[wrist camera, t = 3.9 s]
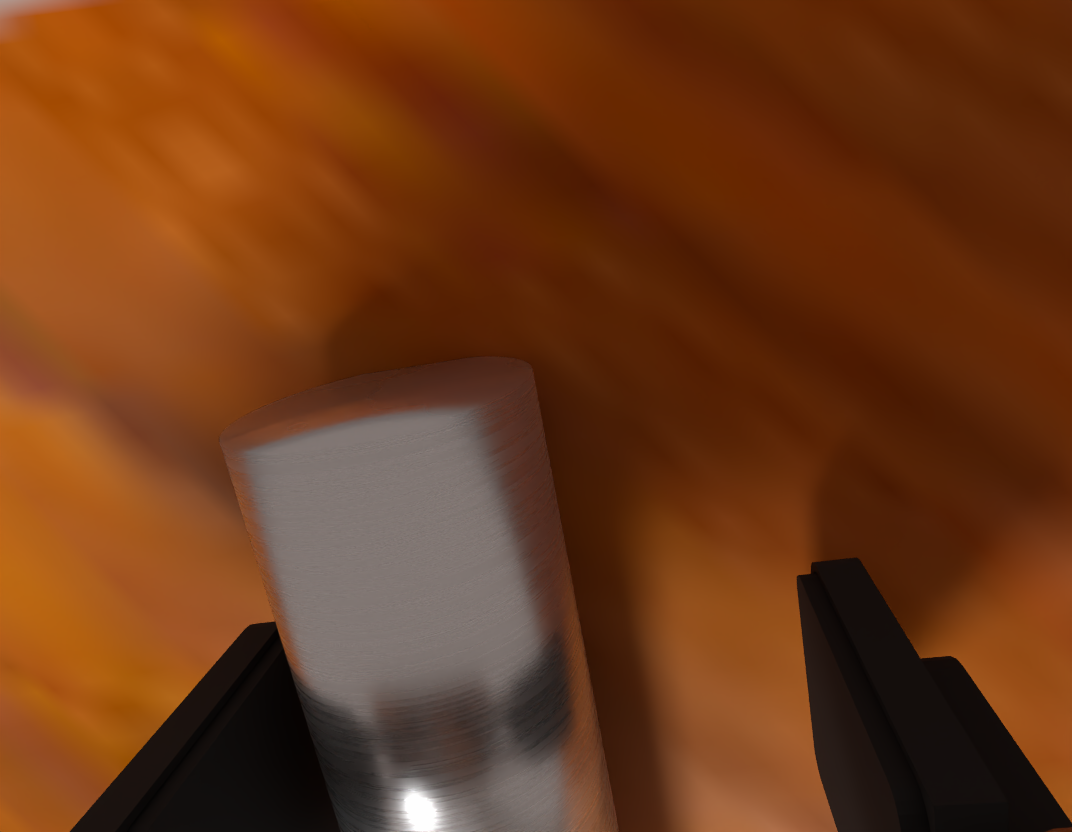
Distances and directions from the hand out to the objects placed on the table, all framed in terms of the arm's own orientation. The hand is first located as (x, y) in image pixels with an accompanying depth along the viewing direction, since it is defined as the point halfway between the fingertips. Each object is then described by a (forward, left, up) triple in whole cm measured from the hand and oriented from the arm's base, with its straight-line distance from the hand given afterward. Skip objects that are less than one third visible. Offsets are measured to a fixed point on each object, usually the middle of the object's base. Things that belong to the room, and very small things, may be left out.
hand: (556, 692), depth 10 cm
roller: (0, 0, 0) cm, 0 cm away
